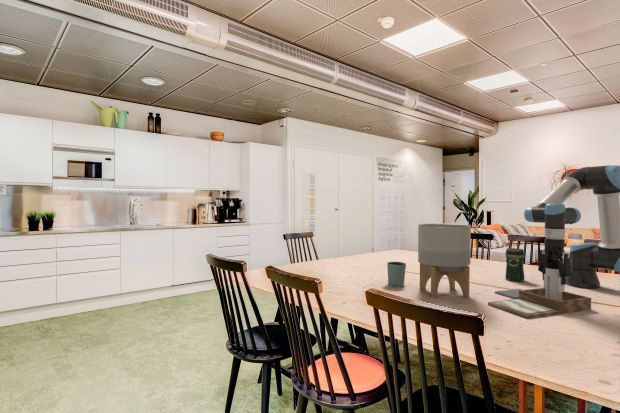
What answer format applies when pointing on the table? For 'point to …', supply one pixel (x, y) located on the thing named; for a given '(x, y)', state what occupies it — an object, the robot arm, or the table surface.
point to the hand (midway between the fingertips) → (553, 289)
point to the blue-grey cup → (396, 273)
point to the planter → (444, 255)
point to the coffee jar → (514, 264)
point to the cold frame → (542, 304)
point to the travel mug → (552, 281)
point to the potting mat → (510, 293)
